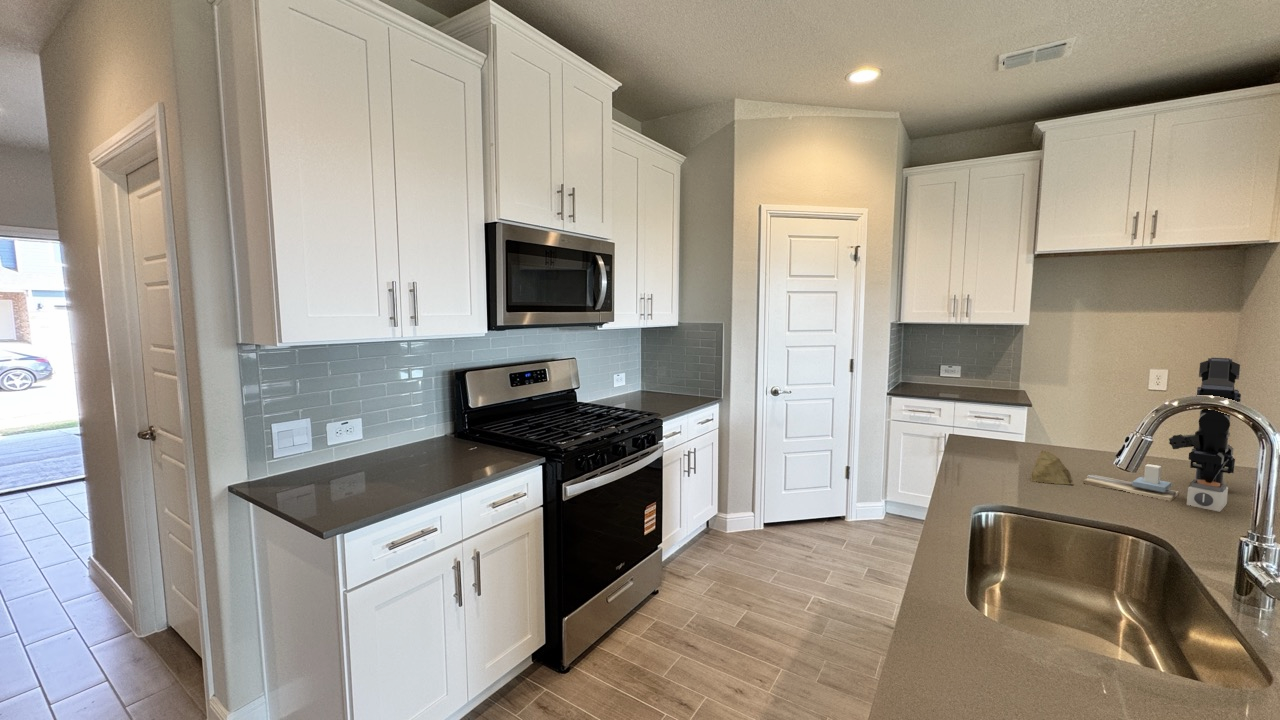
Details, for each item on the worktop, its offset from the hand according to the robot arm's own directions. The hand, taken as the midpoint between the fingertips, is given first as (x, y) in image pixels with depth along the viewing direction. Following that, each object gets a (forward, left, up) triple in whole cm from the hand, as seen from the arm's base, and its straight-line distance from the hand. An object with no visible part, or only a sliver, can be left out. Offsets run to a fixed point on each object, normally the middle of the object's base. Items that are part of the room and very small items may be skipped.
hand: (1208, 482), depth 148 cm
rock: (+12, -32, -7) cm, 35 cm away
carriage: (0, -12, -4) cm, 12 cm away
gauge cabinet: (0, 0, -6) cm, 7 cm away
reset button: (0, 0, -1) cm, 1 cm away
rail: (0, -16, -6) cm, 18 cm away
